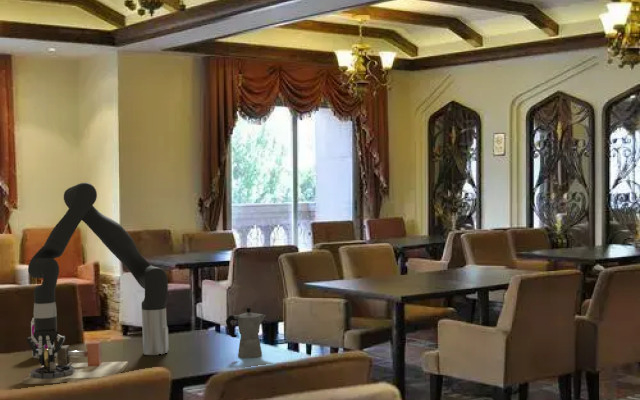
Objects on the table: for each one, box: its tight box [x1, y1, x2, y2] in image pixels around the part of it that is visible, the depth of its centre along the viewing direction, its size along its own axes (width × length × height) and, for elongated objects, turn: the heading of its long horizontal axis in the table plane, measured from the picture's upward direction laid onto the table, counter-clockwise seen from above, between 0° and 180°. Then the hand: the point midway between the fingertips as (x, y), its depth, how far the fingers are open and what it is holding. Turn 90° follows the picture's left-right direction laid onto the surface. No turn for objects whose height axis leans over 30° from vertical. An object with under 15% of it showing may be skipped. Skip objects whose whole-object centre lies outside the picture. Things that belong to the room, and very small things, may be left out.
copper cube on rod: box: [54, 340, 103, 366], centre depth 316 cm, size 18×4×8 cm, turn 90°
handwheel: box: [30, 349, 75, 379], centre depth 303 cm, size 14×14×8 cm
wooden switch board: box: [22, 344, 129, 385], centre depth 308 cm, size 30×24×8 cm
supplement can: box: [30, 317, 48, 359], centre depth 341 cm, size 8×8×15 cm
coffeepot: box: [225, 307, 267, 359], centre depth 331 cm, size 15×9×18 cm, turn 110°
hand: (47, 364), depth 308 cm, fingers closed on handwheel
